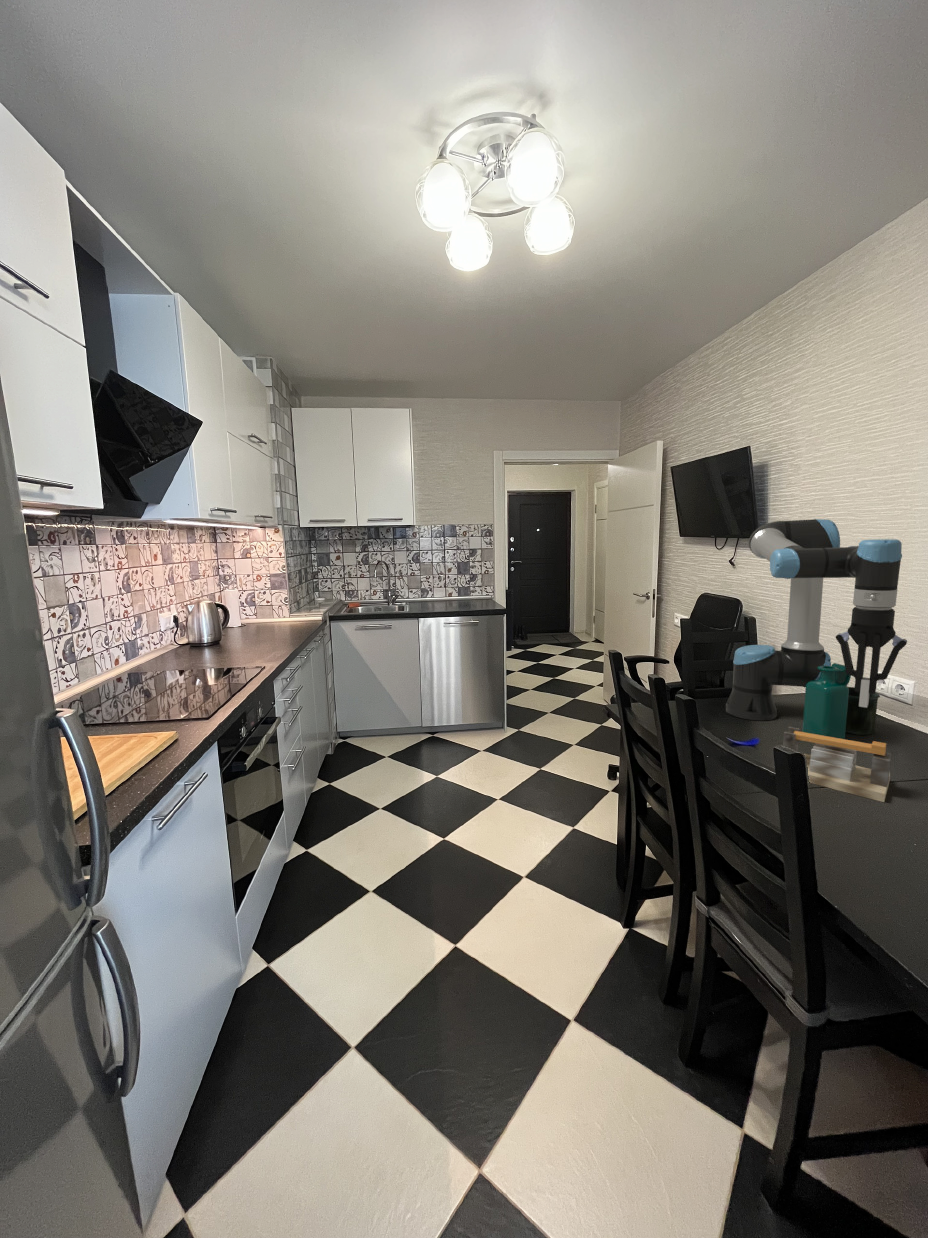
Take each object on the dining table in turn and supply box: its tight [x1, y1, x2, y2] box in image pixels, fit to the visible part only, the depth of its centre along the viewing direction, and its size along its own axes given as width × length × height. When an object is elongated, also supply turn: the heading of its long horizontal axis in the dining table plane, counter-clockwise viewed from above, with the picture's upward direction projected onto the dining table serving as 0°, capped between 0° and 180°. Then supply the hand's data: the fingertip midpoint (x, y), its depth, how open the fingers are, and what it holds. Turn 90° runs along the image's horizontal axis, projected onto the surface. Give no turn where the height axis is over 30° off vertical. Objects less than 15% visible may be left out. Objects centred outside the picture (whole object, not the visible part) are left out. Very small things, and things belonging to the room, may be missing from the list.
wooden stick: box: [794, 731, 887, 756], centre depth 120 cm, size 18×3×2 cm, turn 45°
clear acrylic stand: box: [782, 726, 892, 803], centre depth 121 cm, size 21×13×10 cm, turn 45°
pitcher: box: [801, 662, 852, 740], centre depth 143 cm, size 10×8×22 cm
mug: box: [845, 686, 881, 736], centre depth 151 cm, size 11×15×12 cm
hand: (863, 705), depth 115 cm, fingers closed
